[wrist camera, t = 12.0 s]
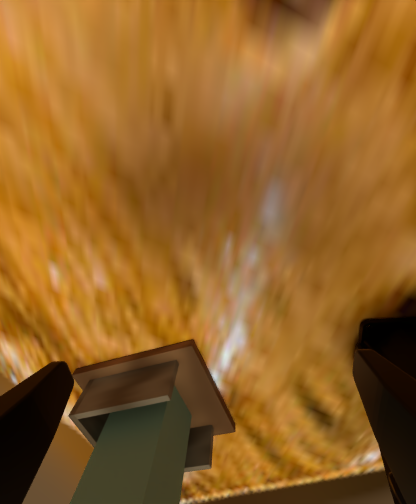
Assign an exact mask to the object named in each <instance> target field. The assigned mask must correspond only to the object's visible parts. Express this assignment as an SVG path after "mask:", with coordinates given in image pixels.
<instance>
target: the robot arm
mask: <svg viewBox="0 0 416 504" xmlns="http://www.w3.org/2000/svg"><path fill="white" fill-rule="evenodd" d="M369 325H370V326H369ZM367 326H369V327H367ZM353 377H354V380H355V383H356V386H357V389H358V391H359V394H360V397H361V400H362V403H363V405H364V408H365V411H366V414H367V416H368V419H369V422H370V425H371V427H372V430H373V433H374V435H375V438H376V440H377V442H378V444H379V448H380V452H381V456H382V460H383V463H384V467H385V471H386V475H387V479H388V482H389V486H390V490H391V493H392V496H393V499H394V503H395V504H416V317H412V318H392V319H373V320H365V321H363V322H362V323H361V325H360V334H359V343H358V344H357V345H356V350H355V354H354V363H353ZM73 386H74V379H73V376H72V374H71V372H70V369H69V367H68V365H67V363H66V362H64V361H54V362H51V363H49V364H48V365H46V366H45V367H43V368H42V369H40V370H39V371H37V372H36V373H34V374H33V375H31V376H30V377H28V378H27V379H25V380H24V381H22V382H21V383H19V384H18V385H16V386H15V387H14V388H12V389H11V390H9V391H8V392H6V393H5V394H3V395H2V396H0V504H22V502H23V500H24V498H25V496H26V494H27V492H28V490H29V488H30V486H31V484H32V482H33V480H34V478H35V476H36V474H37V471H38V469H39V467H40V465H41V463H42V461H43V459H44V457H45V455H46V453H47V451H48V449H49V446H50V444H51V442H52V440H53V438H54V435H55V433H56V431H57V428H58V426H59V423H60V420H61V418H62V415H63V412H64V410H65V407H66V405H67V402H68V399H69V397H70V394H71V392H72V389H73Z"/></svg>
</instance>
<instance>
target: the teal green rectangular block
mask: <svg viewBox="0 0 416 504" xmlns="http://www.w3.org/2000/svg"><path fill="white" fill-rule="evenodd" d="M191 418H192V415H191V413H190V411H189V410H188V408H187V406H186V404H185V403H184V401H183V399H182V397H181V396H180V394H179V392H178V390H177V389H176V387H175V385H174V388H173V392H172V397H171V400H170V401H165V402H160V403H155V404H150V405H145V406H140V407H136V408H131V409H126V410H121V411H116V412H111V413H110V414H109V416H108V418H107V421H106V423H105V425H104V427H103V430H102V432H101V434H100V436H99V439H98V441H97V443H96V445H95V448H94V450H93V452H92V455H91V457H90V459H89V461H88V463H87V466H86V468H85V470H84V473H83V475H82V477H81V479H80V481H79V484H78V486H77V488H76V491H75V493H74V495H73V497H72V500H71V502H70V504H179V502H180V495H181V488H182V481H183V474H184V467H185V460H186V453H187V446H188V439H189V432H190V425H191Z"/></svg>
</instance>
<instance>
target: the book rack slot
mask: <svg viewBox="0 0 416 504" xmlns="http://www.w3.org/2000/svg"><path fill="white" fill-rule="evenodd" d="M72 376H73V378H74V379H75V380H76V382H77V383H78V384H79V386H80V387H81V388H82V390H83V392H82V393H81V395H80V397H79V399H78V400H77V402H76V404H75V405H74V407H73V409H72V411H71V412H70V414H69V417H70V419H71V420H72V421H73V422H74V424H75V425H76V426H77V427H78V428H79V430H80V431H81V432H82V433H83V435H84V436H85V437H86V438H87V440H88V441H89V442H90V443H91V444H92V446H93V447H94V448H95V445H96V443H97V441H98V439H99V436H100V434H101V432H102V430H103V427H104V425H105V423H106V421H107V418H108V416H109V414H110V413H111V412H116V411H121V410H126V409H131V408H136V407H140V406H145V405H150V404H155V403H160V402H165V401H170V400H171V397H172V392H173V388H174V385H175V387H176V389H177V390H178V392H179V394H180V396H181V397H182V399H183V401H184V403H185V404H186V406H187V408H188V410H189V411H190V413H191V415H192V418H191V425H190V432H189V439H188V446H187V453H186V460H185V467H184V472H190V471H197V470H204V469H211V465H212V449H213V436H214V435H220V434H226V433H233V432H235V423H234V421H233V419H232V417H231V415H230V413H229V411H228V409H227V407H226V405H225V403H224V401H223V399H222V397H221V395H220V393H219V391H218V389H217V387H216V385H215V383H214V381H213V379H212V377H211V375H210V373H209V371H208V369H207V367H206V365H205V363H204V361H203V359H202V357H201V355H200V353H199V351H198V349H197V347H196V345H195V342H194V340H189V341H185V342H181V343H177V344H173V345H169V346H165V347H161V348H157V349H154V350H150V351H146V352H142V353H138V354H134V355H130V356H126V357H122V358H118V359H114V360H110V361H106V362H102V363H98V364H94V365H90V366H86V367H82V368H78V369H76V370H75V371H74V373H73V374H72Z"/></svg>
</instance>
